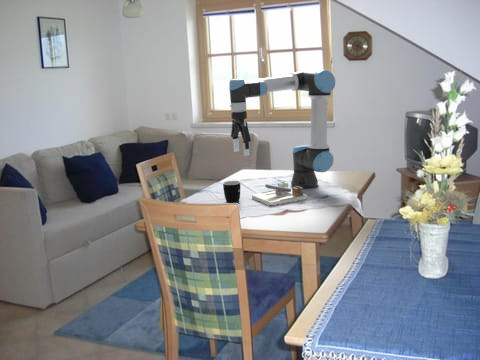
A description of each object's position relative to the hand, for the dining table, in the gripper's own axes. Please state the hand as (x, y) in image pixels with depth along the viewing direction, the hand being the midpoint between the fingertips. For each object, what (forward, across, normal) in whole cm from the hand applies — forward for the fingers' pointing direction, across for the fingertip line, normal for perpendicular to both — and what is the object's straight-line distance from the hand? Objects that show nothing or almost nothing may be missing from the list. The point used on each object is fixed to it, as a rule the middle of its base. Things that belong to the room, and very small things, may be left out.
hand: (241, 153), depth 280 cm
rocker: (+22, -2, +20) cm, 30 cm away
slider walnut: (+25, +5, +28) cm, 38 cm away
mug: (+27, -12, -2) cm, 30 cm away
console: (+27, -2, +20) cm, 34 cm away
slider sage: (+25, -9, +26) cm, 38 cm away
